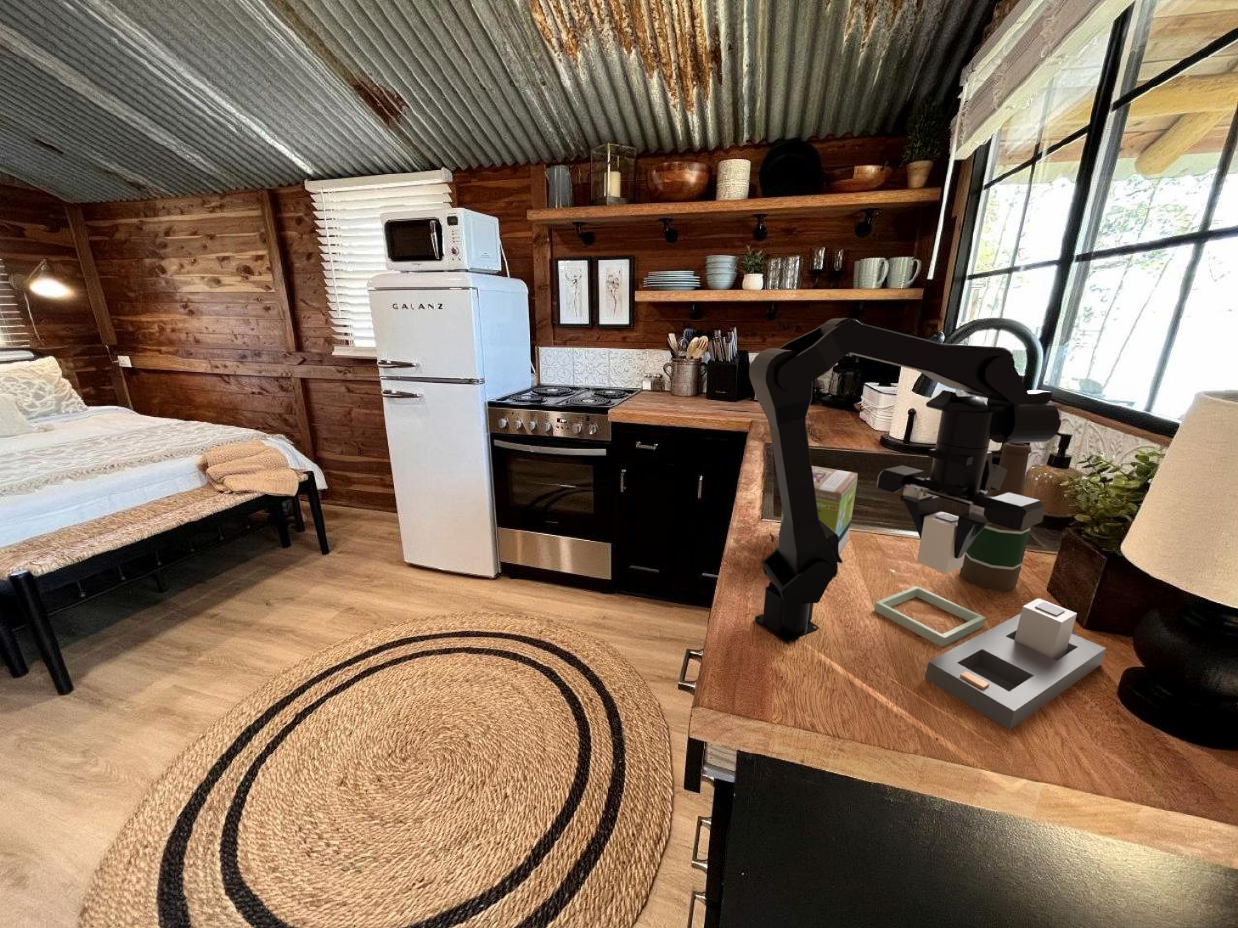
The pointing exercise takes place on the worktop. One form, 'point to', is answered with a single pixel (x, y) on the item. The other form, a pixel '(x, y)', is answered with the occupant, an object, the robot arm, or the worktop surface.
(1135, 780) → the worktop surface
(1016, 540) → the beer bottle
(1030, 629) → the twin plug
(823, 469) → the tea box
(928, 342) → the robot arm
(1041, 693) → the strip
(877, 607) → the tray
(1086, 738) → the worktop surface
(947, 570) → the iec plug
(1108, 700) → the worktop surface
